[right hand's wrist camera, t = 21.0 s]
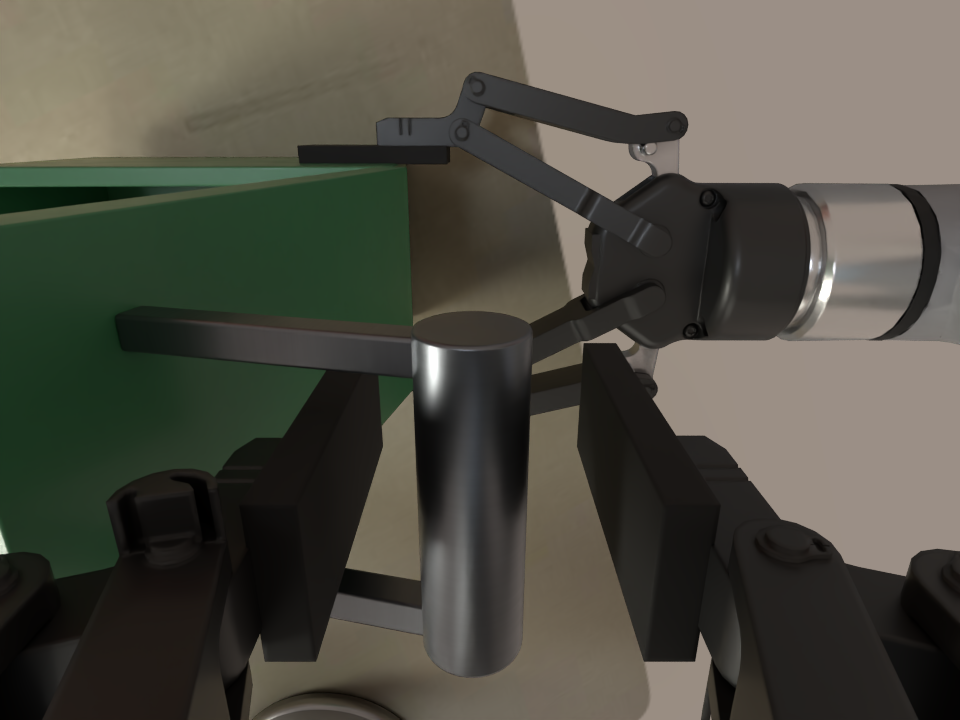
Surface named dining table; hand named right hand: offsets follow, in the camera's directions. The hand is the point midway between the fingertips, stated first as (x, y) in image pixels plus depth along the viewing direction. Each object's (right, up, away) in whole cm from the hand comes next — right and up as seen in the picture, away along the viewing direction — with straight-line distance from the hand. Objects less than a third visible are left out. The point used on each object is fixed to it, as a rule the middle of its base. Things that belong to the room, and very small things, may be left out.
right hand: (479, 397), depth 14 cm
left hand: (-8, +6, +15) cm, 18 cm away
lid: (-6, +1, +3) cm, 7 cm away
